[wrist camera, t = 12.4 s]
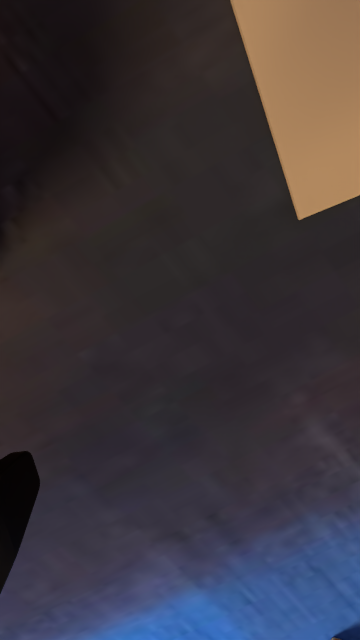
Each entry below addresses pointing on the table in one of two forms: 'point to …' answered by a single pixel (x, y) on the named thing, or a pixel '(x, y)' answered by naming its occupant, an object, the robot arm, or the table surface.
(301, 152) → the carton
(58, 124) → the table surface
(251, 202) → the table surface
